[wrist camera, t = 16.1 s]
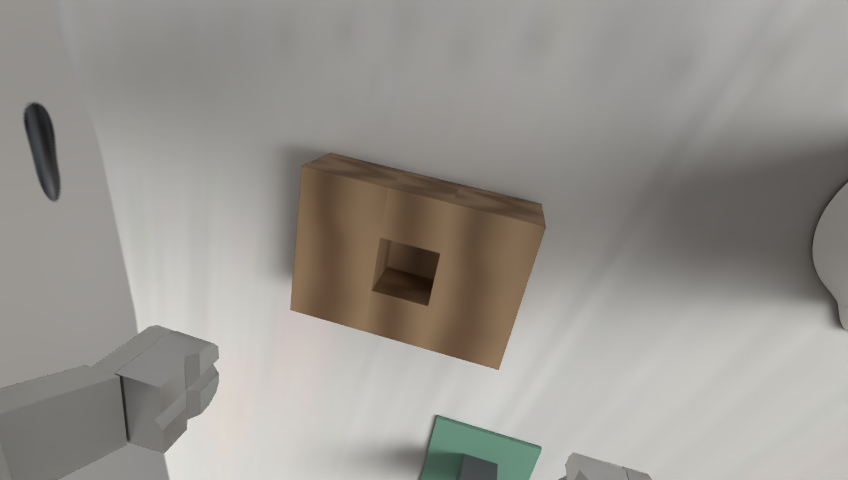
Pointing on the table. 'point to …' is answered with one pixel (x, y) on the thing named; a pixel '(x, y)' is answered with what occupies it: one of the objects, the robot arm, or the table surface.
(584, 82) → the table surface
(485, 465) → the plug
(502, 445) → the mat
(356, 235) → the socket block
